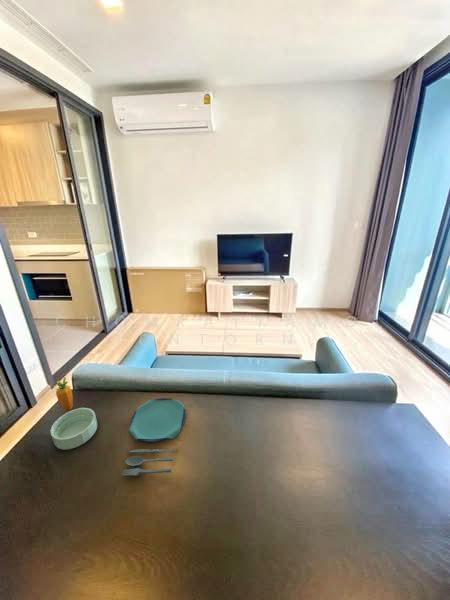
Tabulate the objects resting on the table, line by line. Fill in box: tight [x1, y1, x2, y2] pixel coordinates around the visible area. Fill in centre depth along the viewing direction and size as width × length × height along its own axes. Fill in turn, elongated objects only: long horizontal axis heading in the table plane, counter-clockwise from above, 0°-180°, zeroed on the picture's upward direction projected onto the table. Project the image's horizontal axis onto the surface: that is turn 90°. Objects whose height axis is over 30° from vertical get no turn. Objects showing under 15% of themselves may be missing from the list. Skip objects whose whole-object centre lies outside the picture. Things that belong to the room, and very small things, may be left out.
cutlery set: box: [121, 397, 187, 477], centre depth 86 cm, size 20×30×2 cm, turn 1°
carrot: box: [55, 377, 74, 412], centre depth 94 cm, size 5×5×15 cm
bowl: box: [49, 407, 98, 451], centre depth 86 cm, size 13×13×5 cm
